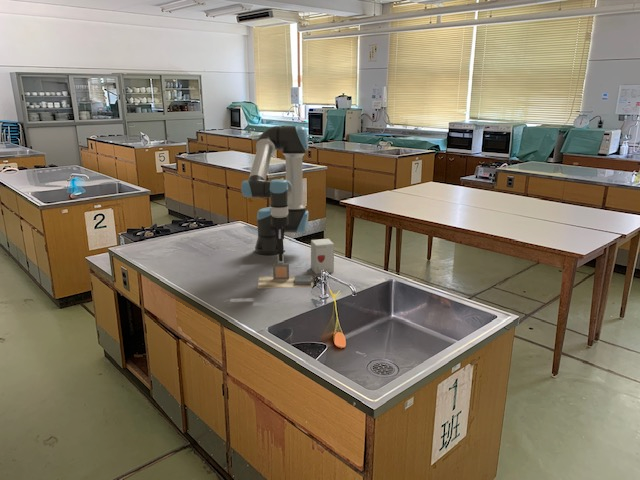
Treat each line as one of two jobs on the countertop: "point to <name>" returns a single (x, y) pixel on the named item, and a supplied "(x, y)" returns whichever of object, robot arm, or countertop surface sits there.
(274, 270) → the tile
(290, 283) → the board
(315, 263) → the supplement box
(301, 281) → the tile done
